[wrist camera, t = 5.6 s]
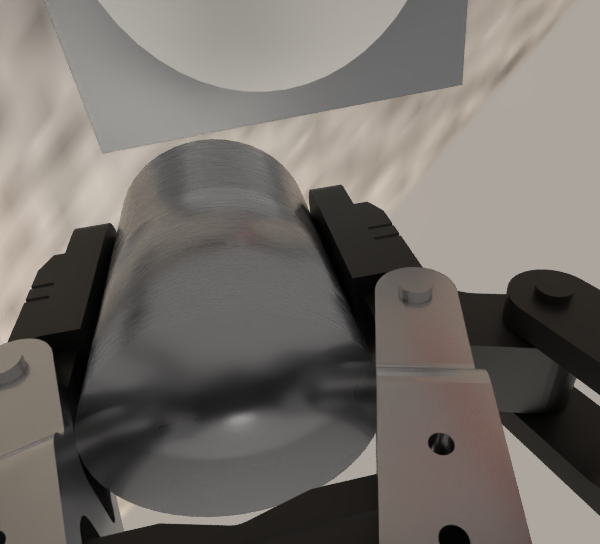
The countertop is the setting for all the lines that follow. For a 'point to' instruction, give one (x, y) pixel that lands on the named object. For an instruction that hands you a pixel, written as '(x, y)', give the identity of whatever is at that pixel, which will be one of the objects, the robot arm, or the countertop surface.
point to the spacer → (222, 343)
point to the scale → (248, 60)
